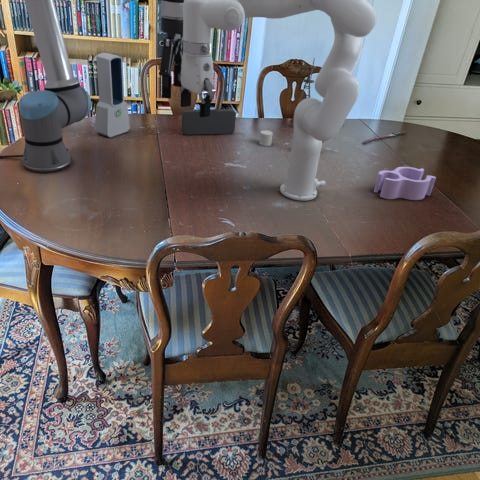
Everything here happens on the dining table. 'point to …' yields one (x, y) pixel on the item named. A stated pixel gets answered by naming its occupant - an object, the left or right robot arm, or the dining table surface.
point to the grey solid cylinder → (265, 138)
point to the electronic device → (111, 96)
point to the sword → (383, 137)
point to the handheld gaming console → (208, 122)
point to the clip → (404, 184)
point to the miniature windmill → (305, 83)
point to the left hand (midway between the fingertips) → (172, 91)
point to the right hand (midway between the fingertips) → (194, 111)
